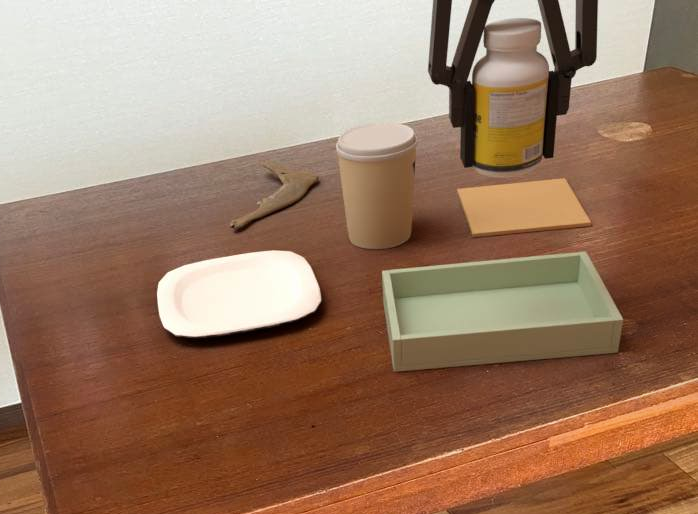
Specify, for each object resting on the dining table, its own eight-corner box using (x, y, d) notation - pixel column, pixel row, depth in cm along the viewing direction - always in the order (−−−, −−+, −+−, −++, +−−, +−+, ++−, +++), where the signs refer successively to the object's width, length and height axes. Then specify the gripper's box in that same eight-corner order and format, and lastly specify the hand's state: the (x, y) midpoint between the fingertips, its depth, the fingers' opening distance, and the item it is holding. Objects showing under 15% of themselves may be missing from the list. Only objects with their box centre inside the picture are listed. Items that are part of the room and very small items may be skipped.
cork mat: (564, 181, 116) (565, 177, 116) (590, 226, 106) (591, 222, 105) (457, 192, 117) (457, 188, 117) (472, 237, 107) (472, 233, 106)
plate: (332, 327, 95) (330, 312, 93) (164, 356, 94) (161, 342, 92) (303, 255, 108) (301, 242, 107) (156, 280, 107) (153, 267, 106)
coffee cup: (433, 234, 108) (434, 133, 100) (373, 260, 105) (368, 156, 97) (385, 213, 114) (382, 115, 106) (327, 236, 111) (319, 137, 103)
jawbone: (323, 175, 128) (323, 160, 126) (297, 239, 113) (297, 223, 112) (262, 171, 129) (261, 157, 128) (229, 234, 115) (227, 219, 113)
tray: (582, 282, 96) (586, 251, 94) (618, 352, 85) (623, 319, 83) (383, 300, 98) (381, 270, 95) (393, 372, 87) (392, 339, 84)
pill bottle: (489, 150, 85) (494, 13, 77) (553, 158, 82) (565, 15, 74) (457, 175, 81) (459, 34, 73) (523, 184, 78) (532, 38, 70)
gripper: (641, -184, 67) (603, 131, 83) (386, -148, 69) (395, 155, 84) (672, -177, 62) (626, 160, 77) (394, -138, 63) (403, 185, 79)
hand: (506, 157), depth 81 cm, fingers closed on pill bottle, 6 cm apart
